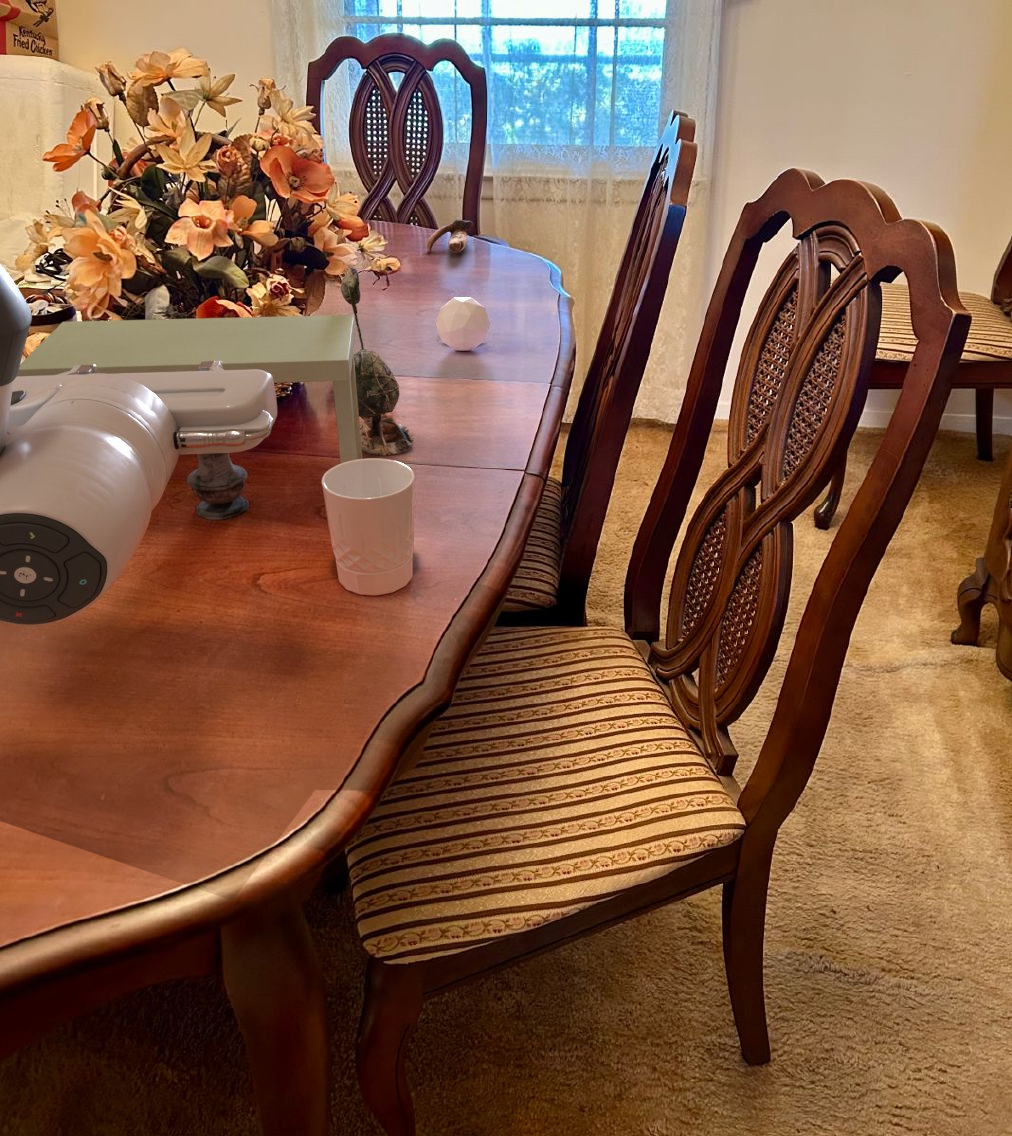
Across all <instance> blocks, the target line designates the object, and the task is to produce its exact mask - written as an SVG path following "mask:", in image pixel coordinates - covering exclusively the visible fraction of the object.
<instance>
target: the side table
mask: <svg viewBox="0 0 1012 1136" xmlns="http://www.w3.org/2000/svg"><path fill="white" fill-rule="evenodd" d="M355 325H356V322H355V315H354V314H338V315H337V314H335V315H334V314H331V315H329V314H328V315H327V314H326V315H325V314H324V315H290V316H289V315H288V316H287V315H286V316H284V315H283V316H246V317H242V316H241V317H206V318H205V317H204V318H201V317H199V318H166V319H165V318H163V319H159V318H158V319H123V320H122V319H121V320H119V319H118V320H116V319H115V320H81V321H80V320H79V321H78V320H77V321H62V322H61V323H60V324H59V325H57V327H56V328H55V329H54V330H52V332H51V333H50V334H49V335H48V336H47V337H46V338H45V339H44V340H43V341H42V342H41V343H40V344H39V345H38V346H37V347H36V348H35V349H34V350H33V351H32V352H31V353H30V354H29V355H28V356H27V357H26V358H24V360H23V361H21V363H20V367H19V371H18V374H17V376H50V375H58V374H61V373H64V372H67V371H70V370H71V369H72V368H73V367H74V366H75V365H96V367H97V373H105V374H118V373H152V372H187V371H199V366H200V365H201V362H203V361H221V362H222V367H223V370H251V369H258V370H263V371H265V372H267V373H269V374H271V375H272V377H273V381H274V384H283V383H285V384H287V383H317V382H319V383H320V382H321V383H322V382H332V390H333V400H334V402H333V403H334V412H335V420H336V421H335V422H336V423H335V424H336V432H337V443H338V453H339V464H341V463H344V462H348V461H352V460H357V459H363V451H362V447H361V435H360V425H361V423H360V416H359V411H358V399H357V387H356V375H355V362H354V354H355V353H354V352H355V350H354V348H355V341H356V326H355Z"/></svg>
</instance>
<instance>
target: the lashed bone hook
mask: <svg viewBox="0 0 1012 1136" xmlns="http://www.w3.org/2000/svg"><path fill="white" fill-rule="evenodd" d="M473 226H474V222H473V221H471V220H464V219H455V220H454V221H452V222H451V223H447V224H446V225H443V226H442V227H440V228H438V229H437V230H435V231H434V232H433V233H432V234H431V235H430V236H429V238H428V239H427V242H426V251H427V252H428V253H431V252H432V249H433V247H434V245H435V243H436V242H437V241H438V240H439V239H440V238H441V237H443V236H444V235H445V234H447V233H450V237H449V239H448V242H447V247H448V249H449V251H450V252H451V253H454V254H455V253H456V254H459V253H461V252H462V251H463V250H464V249H465V248H466V246H467V244H468V241H469V240H468V235H469V233H470V228H473Z"/></svg>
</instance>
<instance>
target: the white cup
mask: <svg viewBox="0 0 1012 1136" xmlns="http://www.w3.org/2000/svg"><path fill="white" fill-rule="evenodd" d="M415 477H416V476H415V473H414V471H413V469H412V468H410V467H409V466H408V465H406V464H404V463H402V462H400V461H397V460H393V459H387V458H375V457H373V458H372V457H370V458H369V457H367V458H362V459H357V460H352V461H348V462H344V463H341V464H340V463H339V464H337V465H334V466H333V467H331V468H329V469H328V470H327V471H325V473H324V474H323V475H322V478H321V487H322V494H323V499H324V507H325V512H326V519H327V520H326V521H327V527H328V531H329V536H330V542H331V548H332V552H333V554H334V558H335V564H336V570H337V578H338V582H339V583H340V584H341V586H342V587H344V588H345V590H347V591H349V592H352V593H355V594H357V595H361V596H382V595H386V594H392V593H395V592H397V591H398V590H401V589H402V588H404V587H406V586H407V585H408V584H409V582H410V581H411V580H412V579H413V577H414V573H413V572H414V571H413V570H414V568H413V566H414V565H413V564H414V563H413V556H414V555H413V554H414V553H413V552H414V549H415V534H416V533H415V505H416V503H415V486H416V485H415V482H416V481H415V480H416V479H415Z"/></svg>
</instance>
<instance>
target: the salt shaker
mask: <svg viewBox="0 0 1012 1136" xmlns="http://www.w3.org/2000/svg"><path fill="white" fill-rule="evenodd" d="M196 455H197V460H198V466H197V469H195V470H193V471H192V472H190V473H189V474H188V476H187V477H186V483H187V485H188V486H189V487H191V490H192V492H193V493H194V495H195V496H196V497H197V499H199V500H201V501H200V502H199V503H198V504H197V505H196V507H195V513H196V515H197V516H198V517H200V518H201V519H205V520H212V521H222V520H229V519H233V518H236V517H238V516H240V515H242V514H244V513H245V512H246V511H247V510H248V509H249V501H248V500H247V499H246V498H245V497H244V496H241V494H242V493H243V491H244V488H245V485H246V479H247V477H248V472H247V470H246V469H245V468H244V467H242V466H240V465H236V464H233V463H232V460H231V458H230V453H210V454H196Z"/></svg>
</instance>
